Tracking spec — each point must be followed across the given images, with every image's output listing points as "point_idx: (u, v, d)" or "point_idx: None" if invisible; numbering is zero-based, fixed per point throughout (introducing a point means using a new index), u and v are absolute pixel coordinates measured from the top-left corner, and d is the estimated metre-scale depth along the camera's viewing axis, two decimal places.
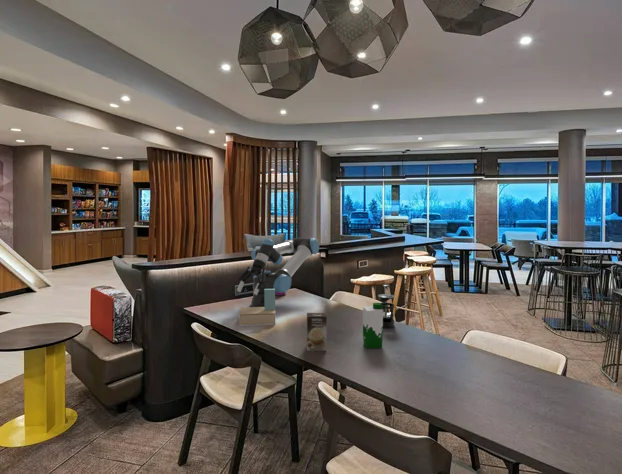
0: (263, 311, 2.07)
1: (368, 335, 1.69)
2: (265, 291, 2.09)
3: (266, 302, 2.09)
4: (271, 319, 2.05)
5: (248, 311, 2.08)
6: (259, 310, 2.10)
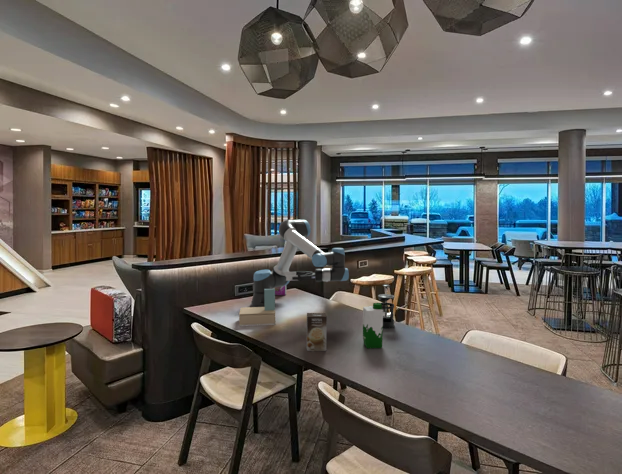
0: (263, 311, 2.07)
1: (368, 335, 1.69)
2: (265, 291, 2.09)
3: (266, 302, 2.09)
4: (271, 319, 2.05)
5: (248, 311, 2.08)
6: (259, 310, 2.10)
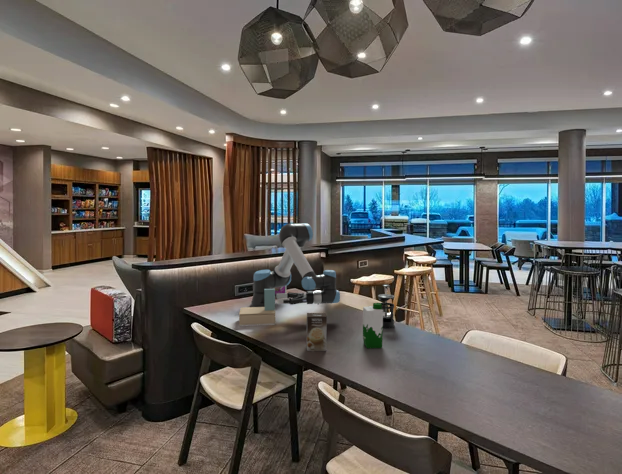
0: (263, 311, 2.07)
1: (368, 335, 1.69)
2: (265, 291, 2.09)
3: (266, 302, 2.09)
4: (271, 319, 2.05)
5: (248, 311, 2.08)
6: (259, 310, 2.10)
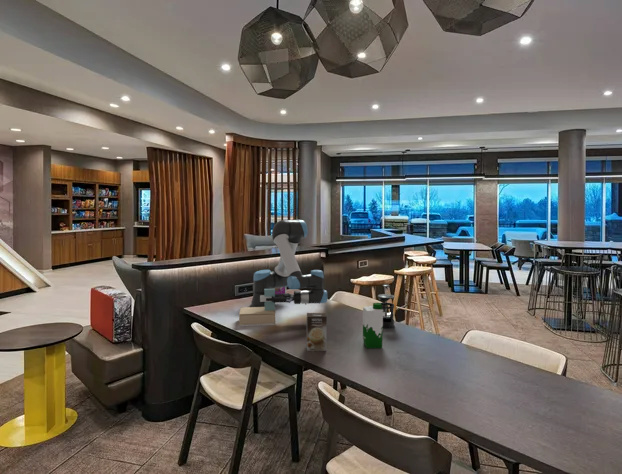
0: (263, 311, 2.07)
1: (368, 335, 1.69)
2: (265, 291, 2.09)
3: (266, 302, 2.09)
4: (271, 319, 2.05)
5: (248, 311, 2.08)
6: (259, 310, 2.10)
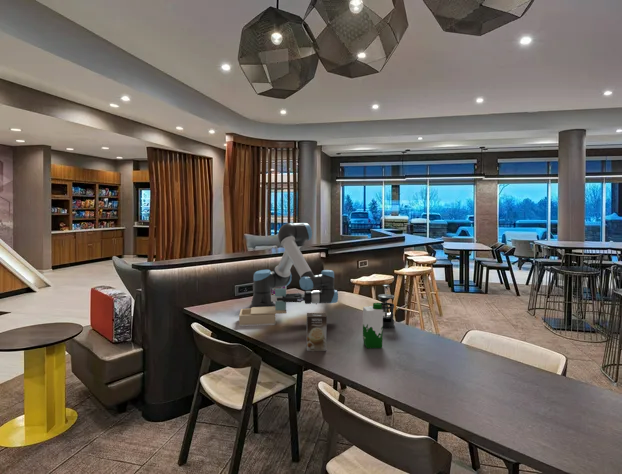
0: (274, 311, 2.08)
1: (368, 335, 1.69)
2: (276, 291, 2.09)
3: (277, 302, 2.10)
4: (271, 319, 2.05)
5: (259, 311, 2.08)
6: (270, 310, 2.10)
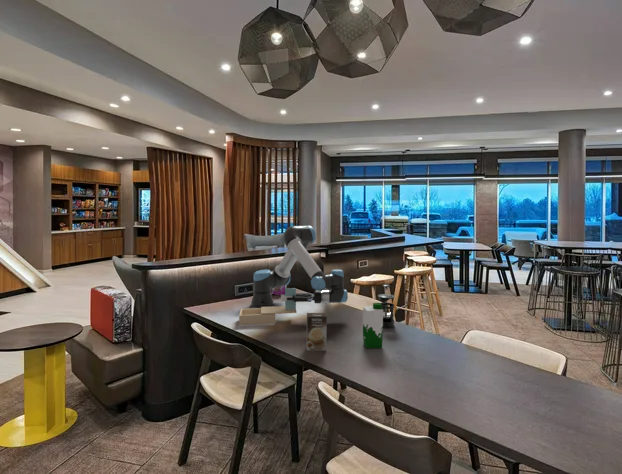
0: (284, 310, 2.09)
1: (368, 335, 1.69)
2: (286, 290, 2.10)
3: (287, 301, 2.11)
4: (271, 319, 2.05)
5: (269, 310, 2.09)
6: (280, 309, 2.11)
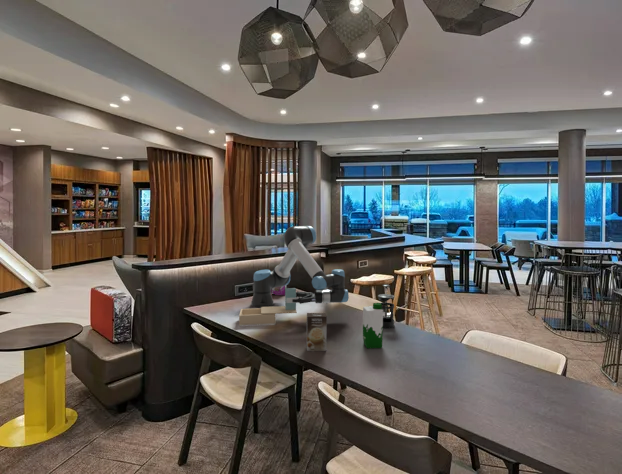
0: (284, 310, 2.09)
1: (368, 335, 1.69)
2: (286, 290, 2.10)
3: None
4: (271, 319, 2.05)
5: (269, 310, 2.09)
6: (280, 309, 2.11)
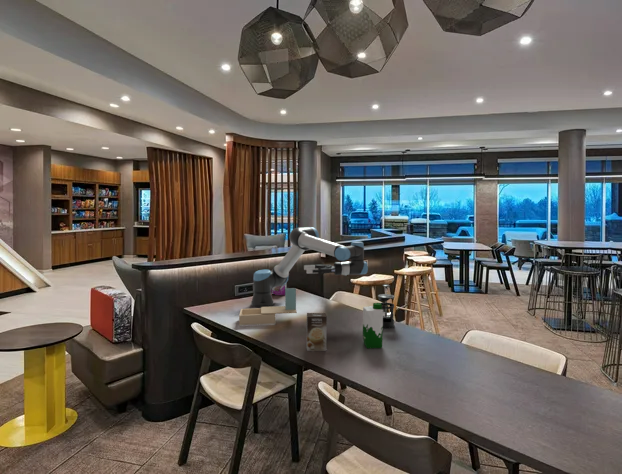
0: (284, 310, 2.09)
1: (368, 335, 1.69)
2: (286, 290, 2.10)
3: (287, 301, 2.11)
4: (271, 319, 2.05)
5: (269, 310, 2.09)
6: (280, 309, 2.11)
